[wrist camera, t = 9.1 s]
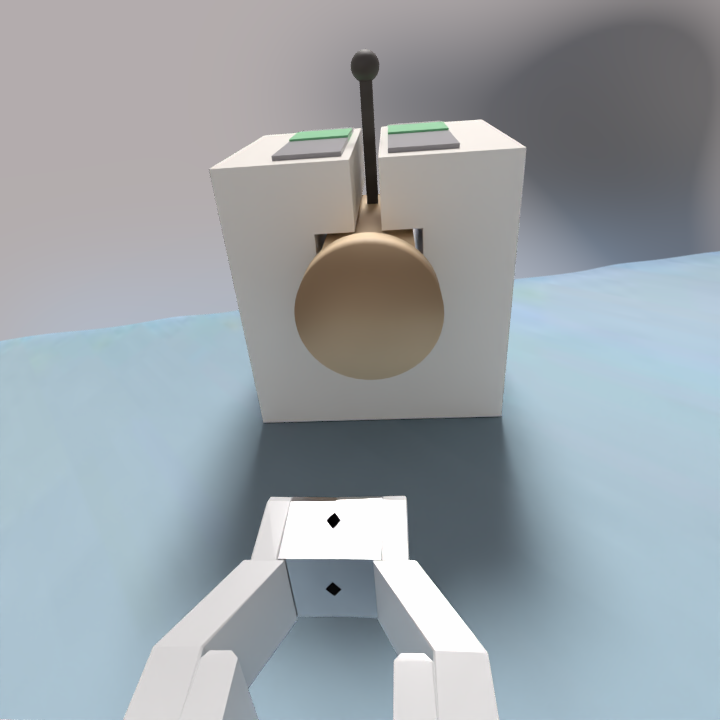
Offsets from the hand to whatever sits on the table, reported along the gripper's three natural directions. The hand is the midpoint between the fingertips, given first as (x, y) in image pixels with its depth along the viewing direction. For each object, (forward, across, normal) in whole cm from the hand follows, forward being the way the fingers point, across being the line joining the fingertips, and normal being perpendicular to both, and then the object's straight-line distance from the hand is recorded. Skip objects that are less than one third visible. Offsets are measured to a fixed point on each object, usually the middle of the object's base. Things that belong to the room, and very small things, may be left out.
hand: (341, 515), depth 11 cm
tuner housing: (+20, 0, +8) cm, 21 cm away
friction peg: (+17, 0, +3) cm, 17 cm away
